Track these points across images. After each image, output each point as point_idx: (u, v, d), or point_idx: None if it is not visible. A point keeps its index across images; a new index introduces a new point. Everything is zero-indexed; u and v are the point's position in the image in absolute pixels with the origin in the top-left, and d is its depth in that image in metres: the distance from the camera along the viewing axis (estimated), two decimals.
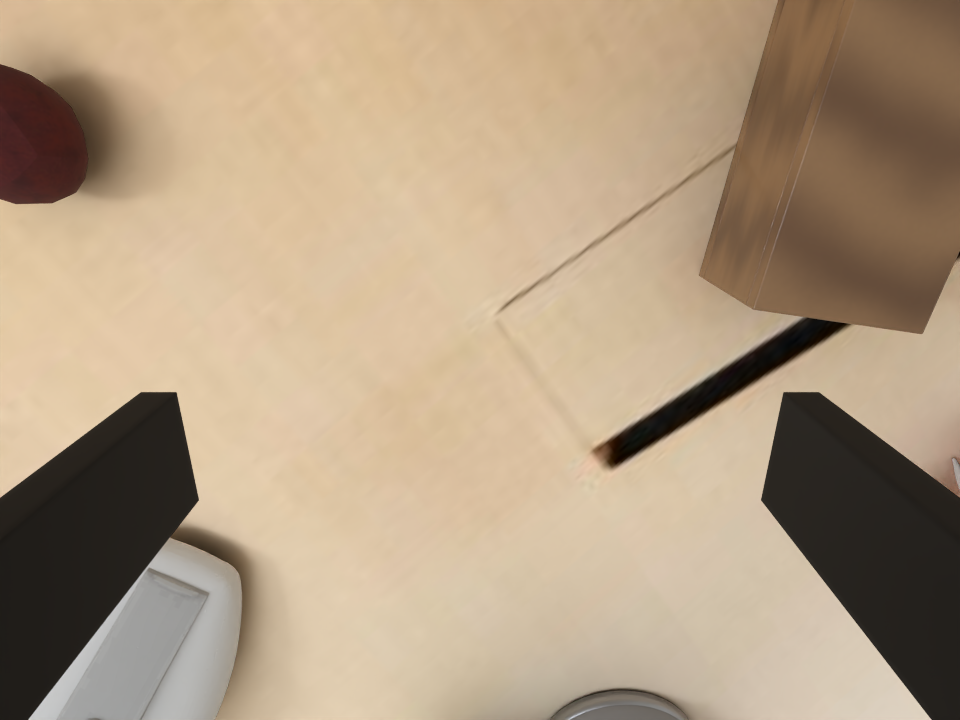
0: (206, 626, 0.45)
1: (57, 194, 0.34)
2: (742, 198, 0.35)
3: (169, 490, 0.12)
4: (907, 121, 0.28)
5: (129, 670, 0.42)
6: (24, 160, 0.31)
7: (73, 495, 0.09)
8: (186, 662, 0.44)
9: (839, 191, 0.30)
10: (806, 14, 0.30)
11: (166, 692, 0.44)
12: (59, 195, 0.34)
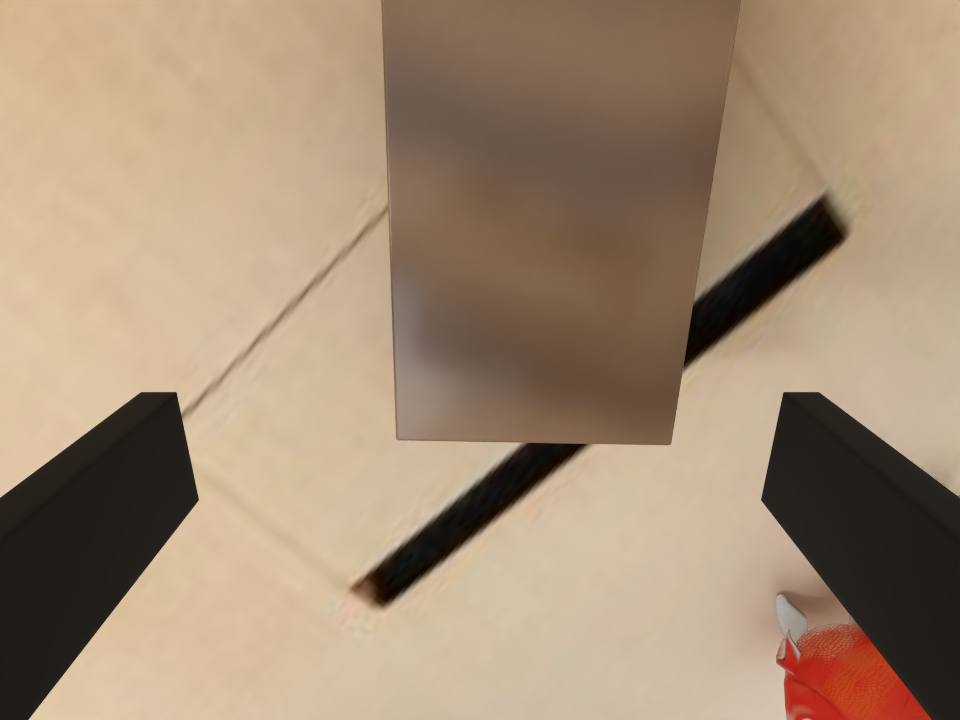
0: None
1: None
2: None
3: (169, 490, 0.12)
4: (539, 133, 0.17)
5: None
6: None
7: (73, 495, 0.09)
8: None
9: (466, 255, 0.18)
10: None
11: None
12: None
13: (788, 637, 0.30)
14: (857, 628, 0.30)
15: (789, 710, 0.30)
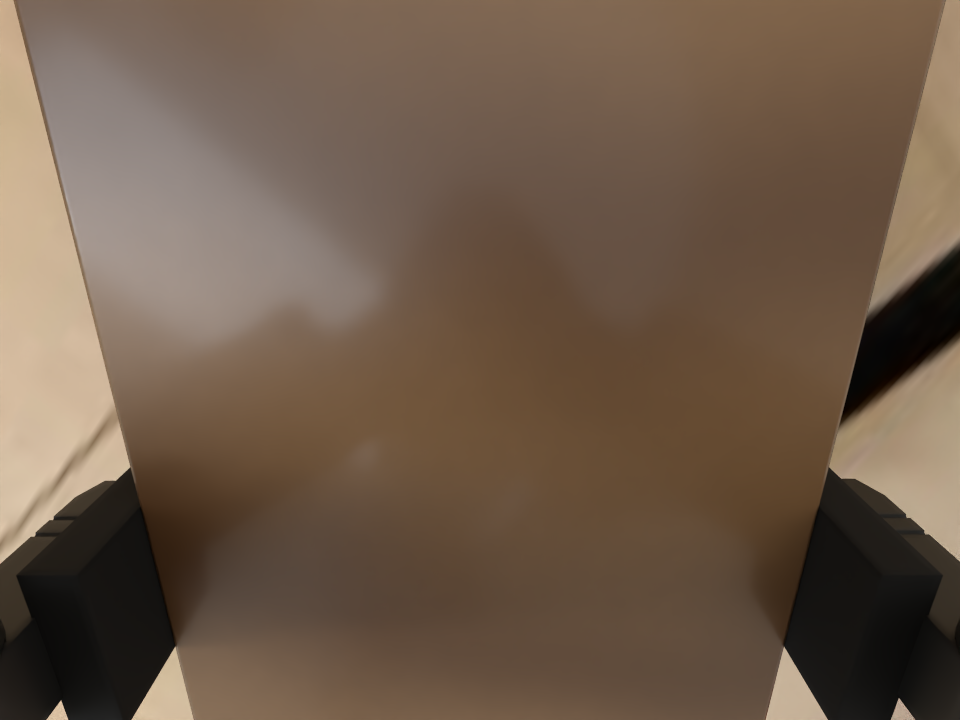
0: None
1: None
2: None
3: None
4: (444, 142, 0.07)
5: None
6: None
7: None
8: None
9: (296, 425, 0.08)
10: None
11: None
12: None
13: None
14: None
15: None
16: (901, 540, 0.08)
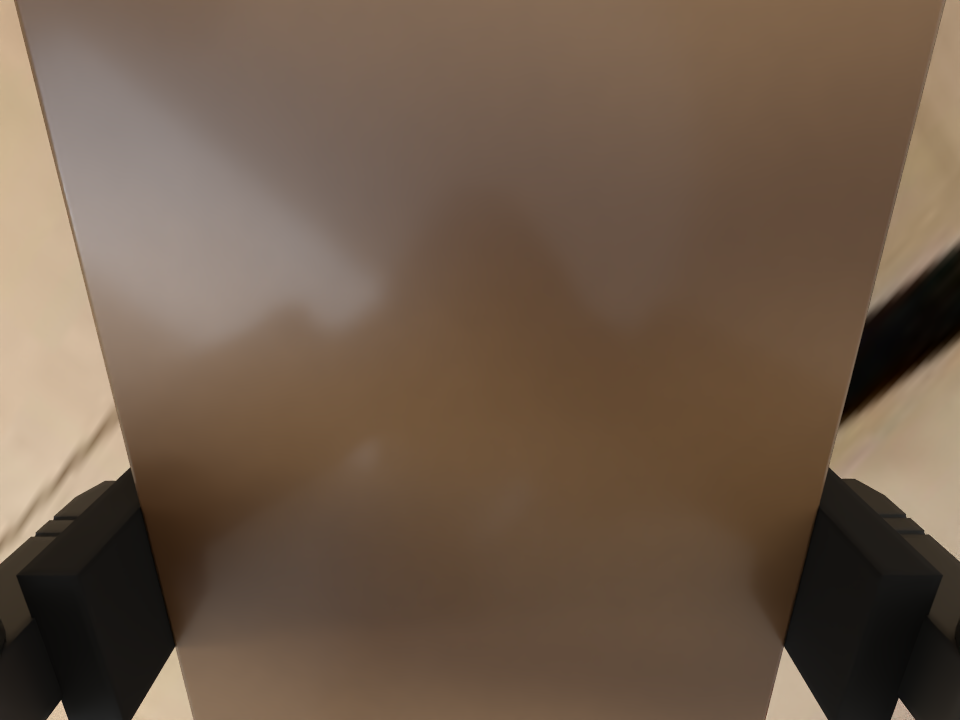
0: None
1: None
2: None
3: None
4: (444, 141, 0.07)
5: None
6: None
7: None
8: None
9: (296, 425, 0.08)
10: None
11: None
12: None
13: None
14: None
15: None
16: (901, 540, 0.08)
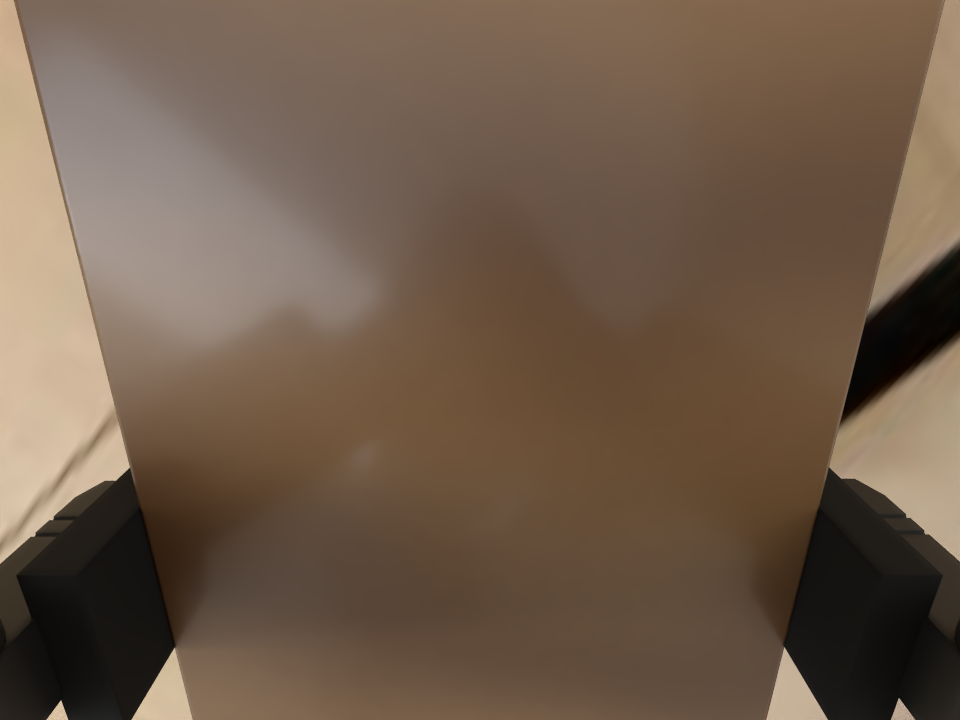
0: None
1: None
2: None
3: None
4: (444, 140, 0.07)
5: None
6: None
7: None
8: None
9: (295, 425, 0.08)
10: None
11: None
12: None
13: None
14: None
15: None
16: (901, 540, 0.08)
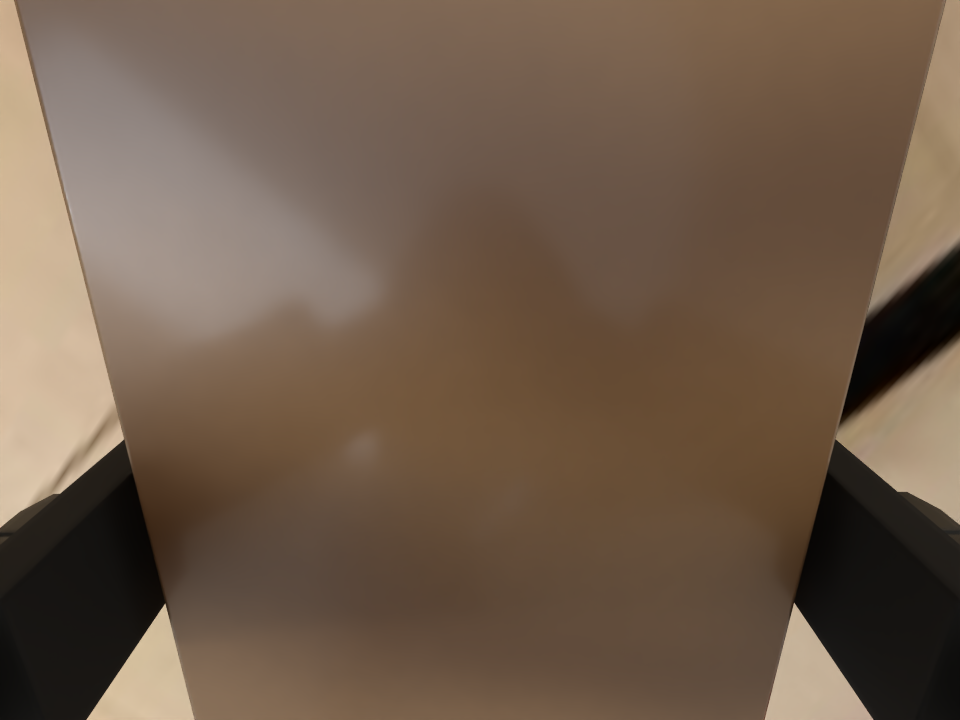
0: None
1: None
2: None
3: None
4: (443, 124, 0.07)
5: None
6: None
7: None
8: None
9: (295, 413, 0.08)
10: None
11: None
12: None
13: None
14: None
15: None
16: None
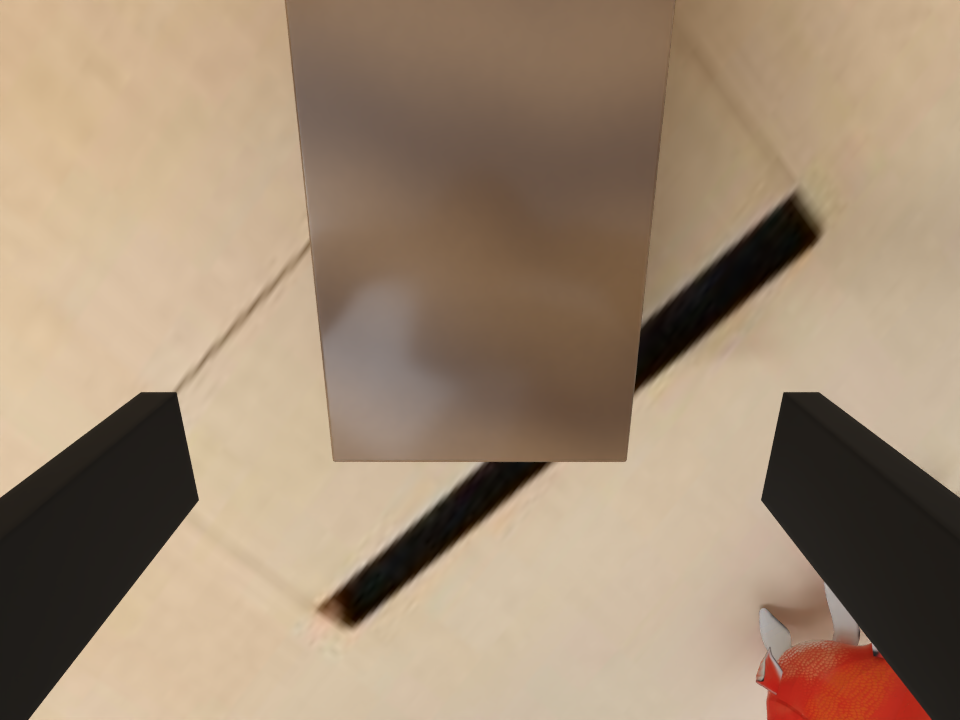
0: None
1: None
2: None
3: (169, 490, 0.12)
4: (464, 131, 0.16)
5: None
6: None
7: (73, 495, 0.09)
8: None
9: (394, 264, 0.17)
10: None
11: None
12: None
13: (769, 655, 0.29)
14: (841, 645, 0.28)
15: None
16: None
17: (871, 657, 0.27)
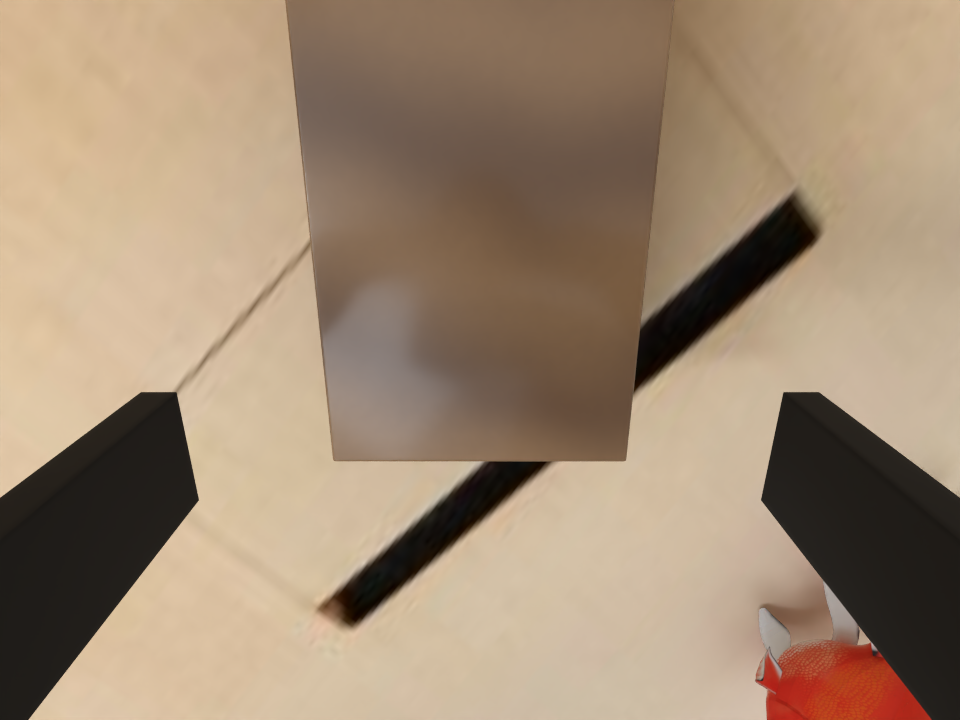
0: None
1: None
2: None
3: (169, 490, 0.12)
4: (465, 132, 0.16)
5: None
6: None
7: (73, 495, 0.09)
8: None
9: (394, 264, 0.17)
10: None
11: None
12: None
13: (769, 655, 0.29)
14: (840, 645, 0.28)
15: None
16: None
17: (870, 656, 0.27)
